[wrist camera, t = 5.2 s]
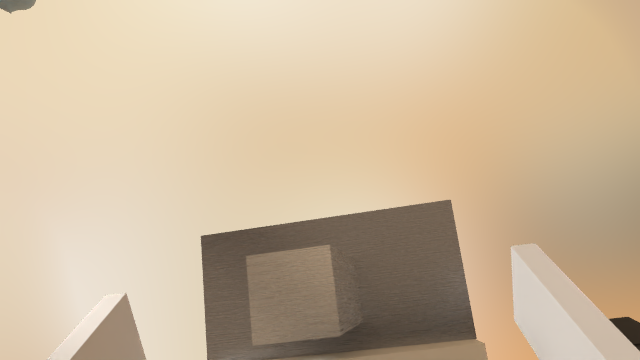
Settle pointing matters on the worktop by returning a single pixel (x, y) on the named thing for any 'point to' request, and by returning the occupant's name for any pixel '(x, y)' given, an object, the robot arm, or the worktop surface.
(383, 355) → the riser
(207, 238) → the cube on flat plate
